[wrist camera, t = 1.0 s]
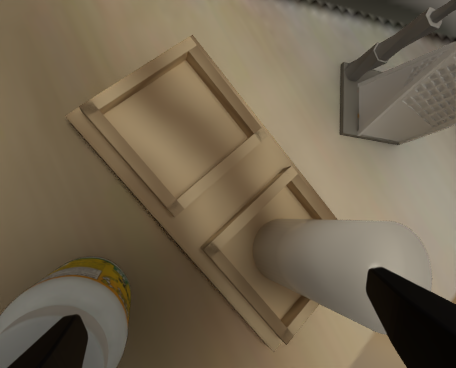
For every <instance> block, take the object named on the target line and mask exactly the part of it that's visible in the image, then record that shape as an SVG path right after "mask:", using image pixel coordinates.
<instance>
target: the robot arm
mask: <svg viewBox="0 0 456 368" xmlns="http://www.w3.org/2000/svg"><path fill="white" fill-rule="evenodd" d="M366 293H367V296H368V298H369V300H370V302H371V304H372V306H373V308H374V310H375V312H376V314H377V316H378V318H379V320H380V322H381V324H382V326H383V328H384V330H385V332H386V333H387V335H388V337H389V339H390V341H391V343H392V344H393V346H394V348H395V350H396V351H397V353H398V354H399V356H400V358H401V359H402V361H403V362H404V364H405V365H406V367H407V368H456V304H454V303H452V302H450V301H448V300H446V299H444V298H442V297H440V296H438V295H436V294H435V293H433V292H431V291H429V290H427V289H425V288H423V287H421V286H419V285H417V284H415V283H413V282H411V281H409V280H407V279H405V278H403V277H401V276H399V275H398V274H396V273H394V272H392V271H390V270H388V269H386V268H384V267H375V268H370V269H369V270H368V273H367V281H366ZM87 343H88V332H87V330H86V328H85V325H84V323H83V321H82V318H81V316H80V315H78V314H73V315H67V316H64V317H62V318H61V319H60V320H59V321H58V322H57V323H56V324H54V325H53V326H52V327H51V328H50V329H49V330H48V331H47V332H46V333H45V334H44V335H42V336H41V337H40V338H39V339H38V340H37V341H36V342H35V343H34V344H33V345H31V346H30V347H29V348H28V349H27V350H26V351H25V352H24V353H23V354H22V355H20V356H19V357H18V358H17V359H16V360H15V361H14V362H13V363H12V364H11V365H9V366H8V367H7V368H82V366H83V361H84V356H85V352H86V347H87Z"/></svg>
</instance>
